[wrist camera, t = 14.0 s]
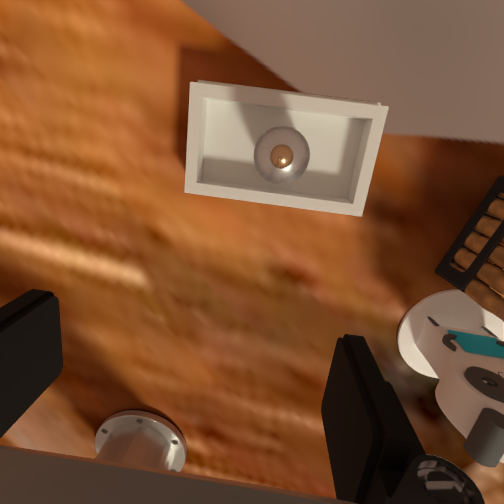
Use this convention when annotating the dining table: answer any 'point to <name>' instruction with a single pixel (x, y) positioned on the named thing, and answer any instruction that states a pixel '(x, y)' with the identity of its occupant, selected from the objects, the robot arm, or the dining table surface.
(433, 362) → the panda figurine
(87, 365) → the dining table surface
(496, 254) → the ammunition clip
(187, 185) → the trough
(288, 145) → the cylinder
